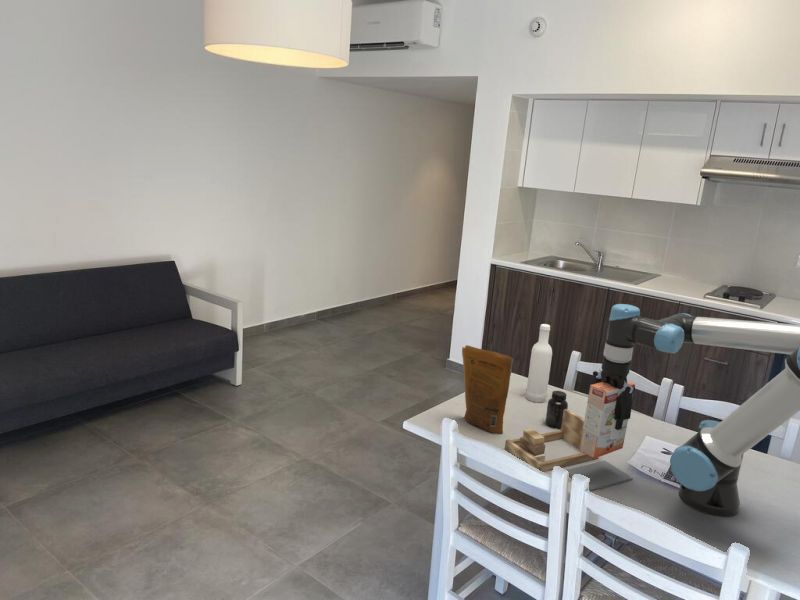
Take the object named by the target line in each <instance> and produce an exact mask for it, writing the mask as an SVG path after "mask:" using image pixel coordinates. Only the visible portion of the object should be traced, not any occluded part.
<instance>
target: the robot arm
mask: <svg viewBox="0 0 800 600" xmlns="http://www.w3.org/2000/svg"><path fill="white" fill-rule="evenodd" d="M607 325H608V326H607V332H606V339H605V342H604V343H605V344H604V347H603V348H604V349H603V357H602V362H601V370H595V371H593V372H592V381H591V385H593V384H596V383H600V382H604V383H609V384H611V386H613V387H614V388H618V389H622V388H623V387H624V389H623V391H622V393H621V394H620V395H619V396H618V397H617V400H616V406H615V418H613V420H612V426H611V432H610V438H609V439H611V440H613V439H618V436H619V430H621V429H622V424H623V420H626V419H628V420H630V419H631V415H632V414H631V413H632V407H633V406H632V405H633V398H634V397H633V396H634V392H635V390H636V385H635V386H630V385H629V384H628V383H627V381H628V379H627V377H628V375H629V374H630V369H631V364H632V362H631V361H632V357H633V353H634V347H635V344H637V345H640V346H643V347H647V348H650V349H653V350H656V351H660V352H662V353H668V354H676V353H677V352H679V350H681V348H682V346H683V343H684V344H695V345H703V346H704V345H705V346H711V347H712V346H713V347H723V348H730V349H739V350H748V351H750V350H751V351H758V352H764V353H765V352H766V353H776V354H785V355H788V356H787V357H786V358H785V359H784V366H785V367H784V369H782V371H780V373H778V374H777V375H776V376H775V377H773V378H772V379H771V380H770V381H768V382H767V383H766V384H765V385H764V386H763V387H761V388H760V389H759V390H757V391H756V392H754V394H752V395H751V397H749V398H748V399H747V400H745V401H744V402H743V403H742V404H741V405H739V406H738V407H737V408H735V409H734V411H731V413H729V415H727V416H726V417H725V418H724V419H722V421H717V420H714V419H713V420H710V419H704V420H702V421H701V422H700V423H699V426H698V431H697V432H696V433H695V434H694V435H693V436H692V437H690V438H689V439H688V440H687V441H686V442H685V443H683V444H682V445H680V446H678V447H676V448H675V449H674V450H673V452H672V454H671V456H670V458H669V464H670V470H671V473H672V474H673V476H674V479H676V481H678V482H679V483H680V486H679V490H678V496H679V497H680V499H681V501H683V502H684V503H685V504H686V505H687V506H689V507H691V508H693V509H694V510H696V511H699V512H702V513H704V514H707V515H711V516H715V517H724V518H725V517H727V518H728V517H732V516H735V515H737V514H738V513H739V509H740V503H741V501H740V496H739V495H740V494H739V489H738V480H739V475H740V473H741V467H742V461H743V458H744V455H745V453H747V452H749V450H750V449H752V448H753V447H755V446H756V445H757V444H759V443H760V442H761V441H762V440H764V439H766V437H768V436H769V435H770V434H771V433H773V432H774V431H775V430H776V429H778V428H780V427H781V426H782V425H783V424H784V423H786V422H787V421H788V420H790V419H791V418H792V417H794V416H795V415H796V414H798V413H799V412H800V324H794V323H782V322H781V323H780V322H770V321H758V320H757V321H756V320H743V319H729V318H720V317H719V318H717V317H705V316H694V315H691V314H689V313H676V314H673V315H671V316H668V317H664V318H661V319H659V320H658V319H657V320H656V319H652V318H647V317H644V316H642V315H641V310H640V308H639V307H637V306H635V305H632V304H625V303H617V304H614V305H613V306H612V307H611V310H610V314H609V318H608V324H607ZM632 397H633V398H632Z"/></svg>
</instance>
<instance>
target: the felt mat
mask: <svg viewBox="0 0 800 600" xmlns="http://www.w3.org/2000/svg"><path fill="white" fill-rule="evenodd" d="M566 470H567V471H568V472H569V476H568V477H570V478H571V479H572V476H573V475H574V474H581V475H584V476H586V477H588V478H590V482H589V490H588V491H589V492H592V491H596V490H599V489H600V490H601V489H604V488H608V487H612V486H615V485H618V484H622V483H627V482H629V481H632V480H634V478H633V476H630V475H629V474H628V473H625V472H624V471H622V470H621V469H620V468H618V467H616V466H615V465H613V464H611V463H610V462H608V461H606V460H601V461H598V462H593V463H588V464H586V465H585V464H584V465H580V466H577V467H573V468H568V469H566Z"/></svg>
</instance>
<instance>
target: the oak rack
mask: <svg viewBox="0 0 800 600" xmlns="http://www.w3.org/2000/svg"><path fill="white" fill-rule="evenodd" d="M584 420H585V418H583V417H581V416H579V415H578V414H576V413H574V412H572V411H571V410H569V409H564V412H563V419H562V426H561V429H558V430H555V431H551V432H550V431H549V432H544V433H539V434H540V435H542V436H543V437H544V443H546V442H552V441H557V440H563V441H566V442H567V443H569V444H570V445H572V446H573V447H575V448H576V449H578V450H579V449H580V443H581V437H582V431H583V425H584ZM519 441H520V437H519V438H515V439H509V438H508V439H505V441H504V442H505V443H504V449H505V450H506V451H507V452H509V453H510V454H511V455H513V456H514V455H515V458H517V457H518V458H520V459H521V460H523V461H525V462H526V463H528V464H530V465H531V466H533V467H535V468H537V469H539V470H540V471H542V472H541V473H544V472H547V471H551V470H554V469H553V467H554V466H560V467H561V468H565V467H569V466H572V465H573V466H574V465H576V464H581V463H584V462H589V461H594V460H598V459H599V457H598V458H595V459H594V458H592V457H590V456H588V455H587V454H585V453H583V452H580V453H575V454H572V455H566V456H563V457H558V458H554V459H550V460H545V461H544V462H540V461H539V460H537V459H536V458H534V457H533V456H532V455H530V454H529V453H527V452H526V451H525V450H523V449H522V448H520V447H519ZM518 458H517V459H518ZM520 459H519V460H520ZM521 460H520V461H521Z"/></svg>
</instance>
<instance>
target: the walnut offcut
mask: <svg viewBox="0 0 800 600" xmlns="http://www.w3.org/2000/svg"><path fill="white" fill-rule="evenodd" d="M519 438H520V441H519V447H521V448H523V449H524V450H526V451H527V452H529V453H531V454H532V455H534V456H537V455H541V454H545V451H546V450H545V449H546V444H545V443H544V445H541V446H533V445H531V444H530V443H529V442H528V441H526V440H525V439H524V438H523V436H521V437H519Z"/></svg>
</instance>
